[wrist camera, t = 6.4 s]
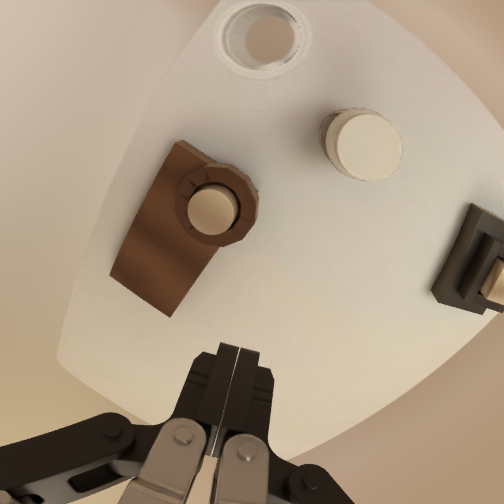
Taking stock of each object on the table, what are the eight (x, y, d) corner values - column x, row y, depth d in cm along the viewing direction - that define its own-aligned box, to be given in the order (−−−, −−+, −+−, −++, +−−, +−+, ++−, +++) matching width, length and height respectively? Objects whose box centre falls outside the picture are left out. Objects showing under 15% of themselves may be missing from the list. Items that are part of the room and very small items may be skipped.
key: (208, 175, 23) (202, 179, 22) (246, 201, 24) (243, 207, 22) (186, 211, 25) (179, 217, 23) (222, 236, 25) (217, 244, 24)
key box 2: (471, 202, 23) (492, 217, 20) (518, 228, 23) (539, 243, 19) (430, 290, 28) (443, 313, 24) (479, 305, 28) (494, 326, 24)
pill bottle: (336, 174, 25) (352, 202, 17) (308, 125, 23) (313, 129, 16) (384, 150, 23) (420, 168, 15) (358, 100, 22) (386, 94, 14)
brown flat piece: (189, 129, 25) (174, 132, 22) (276, 188, 26) (272, 199, 23) (117, 266, 32) (101, 282, 29) (183, 312, 33) (173, 332, 30)
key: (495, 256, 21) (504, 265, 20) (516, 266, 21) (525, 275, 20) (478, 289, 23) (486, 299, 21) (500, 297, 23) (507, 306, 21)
